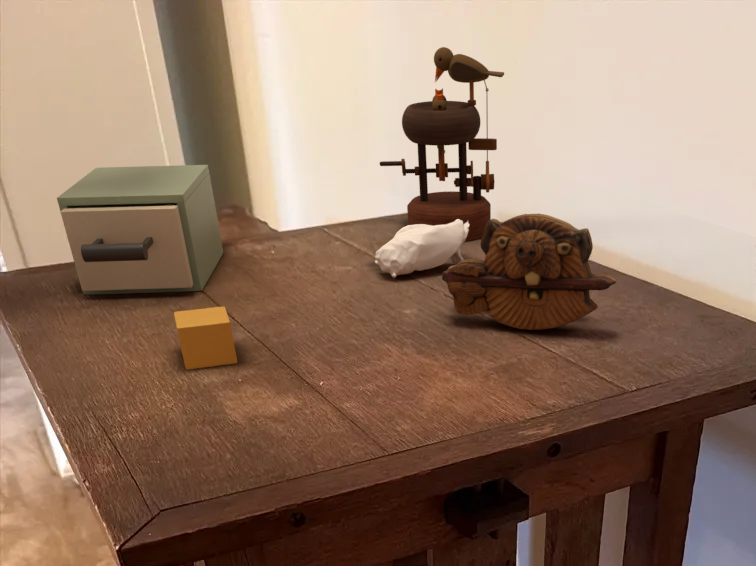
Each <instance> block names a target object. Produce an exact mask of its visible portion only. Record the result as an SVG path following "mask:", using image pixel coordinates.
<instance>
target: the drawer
mask: <svg viewBox="0 0 756 566" xmlns="http://www.w3.org/2000/svg"><path fill="white" fill-rule="evenodd" d="M60 215H61V219H62V223H63V227H64V230H65V233H66V238H67V241H68V244H69V247H70V252H71V255H72V259H73V262H74V266H75V269H76V270H75V271H76V274H77V277H78V281H79V284H80V288H81V292H83V291H99V290H131V289H163V288H191V287H192V286H193V279H192V274H191V269H190V264H189V259H188V254H187V249H186V244H185V239H184V235H183V230H182V225H181V220H180V215H179V210H178V206H177V203H157V204H121V205H85V206H76V207H75V208H69V209H63V210H62V211H61V212H60Z"/></svg>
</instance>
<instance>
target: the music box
mask: <svg viewBox="0 0 756 566" xmlns="http://www.w3.org/2000/svg"><path fill="white" fill-rule="evenodd" d="M433 63H434V66H435V75H434V76H435V77H434V83H437V82H438V80H439V79H440V78H441V76H442V75H443V73H445V72H447V73H448V75H449V77H450V78H451V79H452V81H454V82H458V83H464V84H469V85H468V86H469V99H468V100H467V101H460V100H459V101H458V100H447V98H446V96H445V95H444V88H441V89H437V88H435V89H434V96H433V97H432V100H431V101H429V100H428V101H421V102H419V101H418V102H413V103H411V104H409V105H407V106H406V108H405V110H403V114H402V117H401V127H402V130H403V133H404V135H405V137H406V138H407V139H408V140H409V141H410V142H412V143H414V144H417V161H418V163H417V165H418V166H416V165H415V166H414V168H406V161H405V158H401V160H394V161H393V160H389V161H385V160H383V161H379V166H380V167H401V173H402V176H404V177H406V176H407V174H414V176H417V177H418V182H419V183H418V184H419V195H416V196H415V197H413V198H412V199H411V200H410V202H409V203H408V204H407V206H406V207H407V209H406V211H407V225H414V224H426V225H432V226H435V225H445V224H449V223H452V222H454V221H455V220H457V219H460V220H462V221H463V224H465V223H466V222H467V221H468V223H469V224H470V225H469V227H468V229H469V231H468V235H467V237H466V239H465V241H464V242H470V241H475V240H479V239H482V236H483V234H484V231H485V227H486V224H487V222H488V221H490V220H491V219H492V218H491V217H492V216H491V215H492V213H491V209H492V208H491V202H490V201H489V200H488V199H487V198H486V197H485V196H483V195H482V191H483V190H484V191H485V193H486V194H487V193H490V191H491V190H492V191H493V190H495V174H494V173H490V161H489V151H496V150H498V139H497V138H488V137H489V127H488V126H489V124H488V123H489V120H488V119H489V118H488V117H489V115H488V113H489V111H488V109H489V108H488V107H489V106H488V104H489V103H488V96H489V95H488V93H489V91H490V90H489V87H488V86H487V83H486V80H487V79H489V77H495V78H496V77H497V78H503V76H504V75H505V72H504V71H495V70H489V69H488V67H486V66H485V65H484V64H483V63H481V62H480V61H478V60H476V59H475V58H473V57H471V56H468V55H466V54H462V53H457V54H454V53H453V52H452V50H451V49H450V48H448V47H445V46H441V47H439V48H438V49H436V51H435V52H434V55H433ZM480 82H484V86H485V92H486V93H485V95H486V103H485V104H486V137H485V138H484V137H483V138H482V137H480V138H479V137H478V138H476V137H477V135H478V134H479V132H480V128H481V116H480V112H479V110H478V108H477V107H476V106H477V100H476V99H475V88H474V87H475V85H474V84H475V83H480ZM467 144H468V145H467ZM455 145H456V146H457V147H458V149H457V151H458V152H457V153H458V167H449V163H448V162H445V161H446V160H445V154H446V149H445V146H455ZM427 146H435V147H436V149H437V157H438V158H437V159H438V160H437V161H438V162H437V163H435V168H433V167H432V168H431V167H430V168H428V167H427V164H428V163H427ZM467 147H468V148H467ZM467 149H468V150H469V151H486V160H485V173H480V175H474V160H470V164H469V165H468V160H467V158H468V157H467V156H468V155H467V152H468V151H467ZM449 173H450V174H451V173H458V177H455V178H454V180H453V185H454V186H455V188H459V189H458V191H451V190H450V191H435V192H429V190H428V189H429V187H428V174H435V178H436V179H437V178H438V181H439V182H446V178H449ZM468 175H470V177H468ZM469 187H470V188H471V187H472V192H469V191H468V188H469Z"/></svg>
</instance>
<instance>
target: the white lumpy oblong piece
mask: <svg viewBox="0 0 756 566" xmlns="http://www.w3.org/2000/svg"><path fill="white" fill-rule="evenodd" d="M469 225H470V224H469V223H468V221H467V222H466V223H465V224H463V221H462V220H460V219H457V220H455V221H454V222H452V223H449V224H445V225H435V226H432V225H426V224H414V225H408V224H407V225H406V226H403V227H402V228H400V229H399V230H398V231H397V232H396V233H395V235H394V236H393V237H392V239H390V240H389V241H388V242H387V243H385V244H384V245H382V246H380V248H379V249H377V250H376V251H375V260H374V263H375V264H376V265H377V266H378V267H379V268H380V270H381V271H382V272H384V273H388V274H389V275H390V276H391V277H392V278H393V279H395V278H397V276H402V275H409V274H411V273H413V272H414V271H424V270H430V269H435V268H437V267H439V266H442V265H444V264H445V263H446V262H448V260H449V259H450V258H451V261H452V263H453V264H458V263H460V262H461V261H463V260H465V259H464V257H463V256H462V254H461V246H462V245H463V244H464V243H465V242H466V241H465V239H466V237H467V235H468V231H469V229H468V227H469ZM455 262H456V263H455Z"/></svg>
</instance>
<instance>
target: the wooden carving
mask: <svg viewBox="0 0 756 566" xmlns="http://www.w3.org/2000/svg"><path fill="white" fill-rule="evenodd" d="M593 248H594V245H593V240H592V236H591V233H590V229H589V228H587V227H585V228H581V229H578V228H576V227H575V226H573V224H571V223H569V222H567V221H565V220H563V219H560V218H557V217H555V216H551V215H548V214H543V213H523V214H519V215H516V216H513V217H511V218H509V219H506V220H503V221H501V220H498V219H496V218H491V220H490V221H488V222H487V224H486V227H485V231H484V234H483V236H482V238H480V249H481V251H482V252H483V253H484V255H485V256H484V259H479V258H477V259H476V258H467V259H464V260H463V261H461V262H458V263H456V264H454V265H450V266H449V267H448V268H447V270H444V271H443V272H442V275H441V280H442V281H444V282H445V283H446V285H447V289H448V293H450V294H451V296H452V299H453V305H454V309H455V312H456V313H457V314H459V315H463V316H471V315H472V316H473V315H476V314H480V313H486V314H487V315H488V316H489V317H490V318H492V319H493V320H495V321H496V322H498V323H499V324H502V325H504V326H507V327H511V328H515V329H519V330H529V331H532V330H533V331H534V330H535V331H538V330H539V331H541V330H549V329H555V328H558V327H562V326H563V327H564V326H565V325H568V324H571V323H573V322H576V321H578V320H580V319H581V318H584V317H586V316H587V315H589V314H591V313H593V312H594V311H596V310H597V309H598V308H599V306H598V304H597V302H595V301H594V300H593V299H592V298H591V295H590V291H605V290H607V289H609V288H610V287H611V286H613V285H615V284H617V283H618V281H617V280H616V279H615V278H614V277H612V276H611V275H609V274H595V273H593V272H592V269H591V266H590V264H589V260H590V257H591V255H592V252H593Z"/></svg>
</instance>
